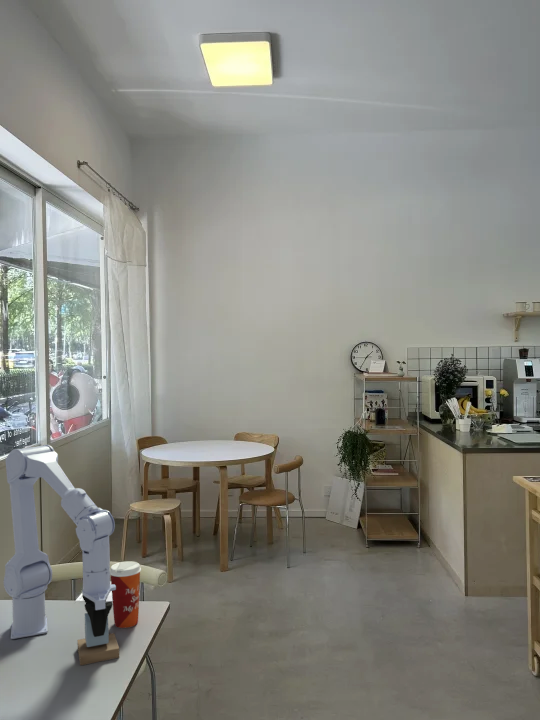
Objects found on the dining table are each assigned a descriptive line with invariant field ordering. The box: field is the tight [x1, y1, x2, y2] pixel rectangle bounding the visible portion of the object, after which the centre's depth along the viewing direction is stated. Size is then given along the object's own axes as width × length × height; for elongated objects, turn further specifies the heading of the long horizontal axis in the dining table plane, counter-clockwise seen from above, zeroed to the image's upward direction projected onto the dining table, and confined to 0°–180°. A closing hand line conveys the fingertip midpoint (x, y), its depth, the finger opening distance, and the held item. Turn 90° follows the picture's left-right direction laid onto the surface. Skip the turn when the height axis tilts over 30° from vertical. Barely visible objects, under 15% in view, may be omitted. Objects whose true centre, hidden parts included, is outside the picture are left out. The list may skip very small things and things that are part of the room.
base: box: [77, 632, 120, 666], centre depth 128 cm, size 8×8×2 cm
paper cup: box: [110, 560, 142, 629], centre depth 143 cm, size 8×8×14 cm
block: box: [84, 612, 109, 647], centre depth 128 cm, size 4×4×6 cm
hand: (97, 630), depth 128 cm, fingers closed on block, 4 cm apart
